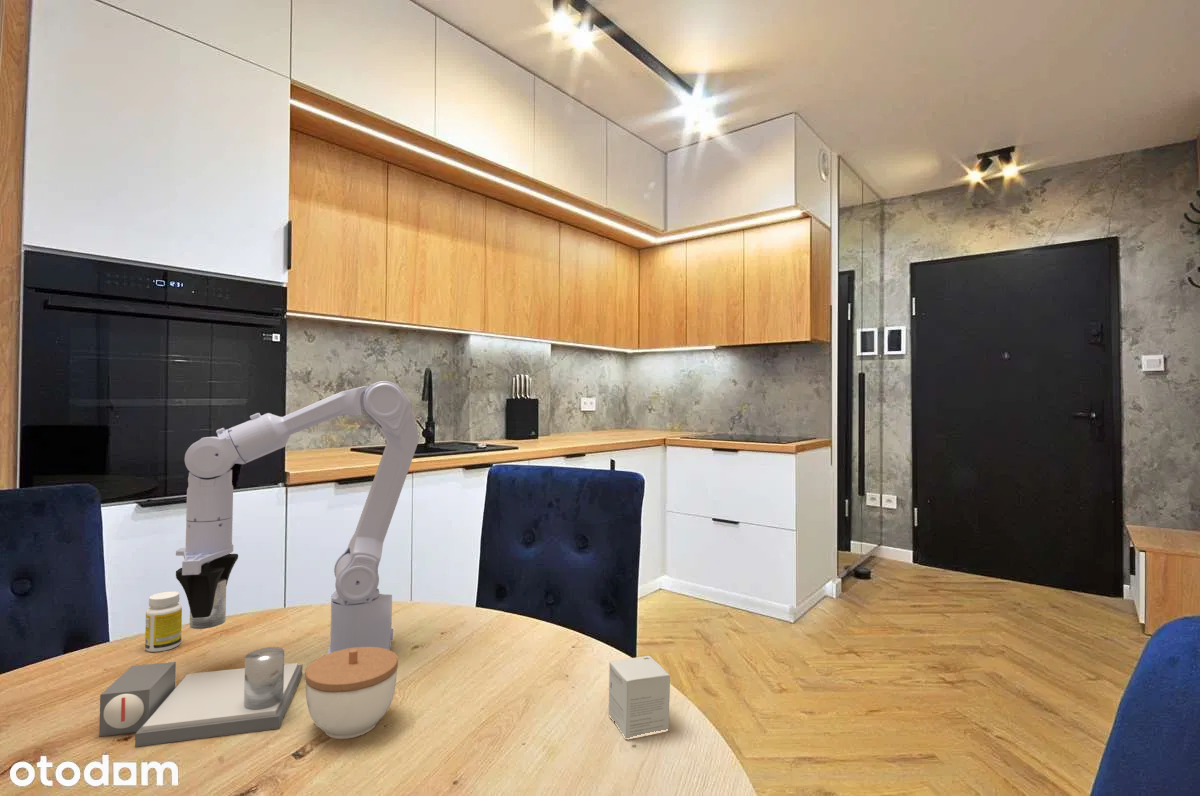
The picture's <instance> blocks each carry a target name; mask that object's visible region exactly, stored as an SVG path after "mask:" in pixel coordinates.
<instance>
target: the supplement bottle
mask: <svg viewBox="0 0 1200 796" xmlns="http://www.w3.org/2000/svg"><path fill="white" fill-rule="evenodd" d="M179 602H180V592H179V591H175V590H174V591H170V590H169V591H164V592H163V591H162V592H158V593H154V594H152V595H150V596H149V599H148V607H149V608H148V609H146V611H145V635H144V636H145V637H144V639H145V640H144V641H145V642H144V643H145V644H144V649H145V651H146V652H149V653H150V652H152V653H157V652H165V651H169V650H172V649H175V648H176V647H178V646H180V645H181V643H182V622H183V621H182V620H183V618H182V617H183V616H182V615H183V607H182V604H181V603H179Z"/></svg>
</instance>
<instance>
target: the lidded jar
mask: <svg viewBox="0 0 1200 796" xmlns="http://www.w3.org/2000/svg"><path fill="white" fill-rule="evenodd" d="M398 666H399V658H398V655H397V654H396V653H395V652H393V651H392V650H391V649H390V650H387V649H384V648H379V647H355V648H348V649H343V650H339V651H335V652H332V653H329V654H327V653H326V654H323V655H322V656H320V657H317V659H315V660H313V661H312V662H310V664H308V666H307V667H306V669H305V673H304V680H305V698H306V705H307V708H308V713H309V715H310V717H311V720H312V721H313V722H314V724H315V725H316V726H317V727H318V728H319V729H320V730H322V731H323V732H324V734H325V735H326V736H327V737H329V738H331V739H336V740H348V739H354V738H357V736H358V737H361V736H363V735H365V733H366V734H367V732H368V733H369V732H371V731H372V730H373V729H374V728H376V726H377V724H378V723H379V721H381V719H382V718H383V717H384V716H385V714H386V713H387V712H388V710H389V708H390V706H391V704H392V702H393V698H394V695H395V691H396V685H397V674H398V673H397V669H398ZM370 730H371V731H370ZM360 735H361V736H360Z"/></svg>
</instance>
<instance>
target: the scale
mask: <svg viewBox="0 0 1200 796" xmlns="http://www.w3.org/2000/svg"><path fill="white" fill-rule="evenodd" d="M176 665H177V662H176V661H170V662H169V661H168V662H161V663H160V662H159V663H158V662H157V663H148V664H147V663H146V664H140V665H139V664H138V665H137V664H136V665H131V666H130V667H129V668H128V669H127V670H125V671H124V673H122V674H121V675H120V676H119V677H118V678H117V679H116V680H115V681H114V682H112V683H111V684H110V685H109V686H108V687H107V688H106V689H105V690H103V692H101V693H100V698H99V730H98V731H99V732H98V737H107V736H115V735H125V734H132V733H134V734H135V735H134V736H135V737H134V738H135V740H134V747H135V748H136V747H145V746H151V745H152V746H153V745H159V744H168V743H174V742H183V741H190V740H197V739H198V740H199V739H207V738H208V739H209V738H215V737H216V738H217V737H223V736H230V735H237V734H245V733H246V734H247V733H252V732H260V731H269V730H276V729H280V727H281V725H282V722H283V720H284V718H285V715H286V713H287V710H288V708H289V706H290V703H291V702H292V699H293V697H294V694H295V693H296V690H297V688H298V685H299V683H300V680H302V679H301V678H302V676H303V667H304V666H303V664H299V662H296V663H295V662H292V663H284V686H283V699H282V701H281V702H279V703H278V704H276V705H274V706H272V707H269V708H265V709H260V710H249V709H246V708H245V707H244V676H245V667H243V668H235V669H233V668H232V669H224V670H215V671H214V670H212V671H202V672H193V673H187V674H186V675H185V676H184V677H183V678H182V679H181V680H180V681H179V683H177V684H176V669H177V668H176Z"/></svg>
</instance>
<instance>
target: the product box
mask: <svg viewBox="0 0 1200 796" xmlns="http://www.w3.org/2000/svg"><path fill="white" fill-rule="evenodd" d="M608 672H609V674H608V675H609V676H608V677H609V680H608V685H609V687H608V716H609V715H610V716H611V718H612V719H613V720H614V721H615V723H616V724H617V725H618V727H619V728H620V730H621V731H622V733H623V734H624V736H625V738H630V737H633V736H637V735H641V734H645V733H650V732H654V731H655V732H656V731H661V730H666V729H669V730H670V698H671V697H670V694H671V693H670V692H671V674H669V673H668V672H667V671H666V670H665V669H664V668H663V667H662V665H661V664H659V662H657V661H656V660H655V659H654V658H653V657H652V656H650V655H644V656H638V657H637V656H636V657H632V658H631V657H630V658H623V659H617V660H612V661H609V671H608Z"/></svg>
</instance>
